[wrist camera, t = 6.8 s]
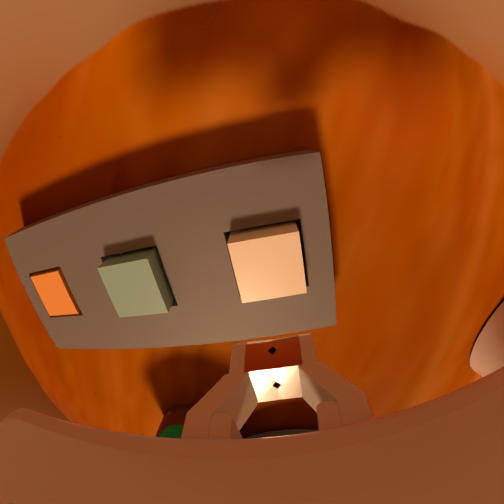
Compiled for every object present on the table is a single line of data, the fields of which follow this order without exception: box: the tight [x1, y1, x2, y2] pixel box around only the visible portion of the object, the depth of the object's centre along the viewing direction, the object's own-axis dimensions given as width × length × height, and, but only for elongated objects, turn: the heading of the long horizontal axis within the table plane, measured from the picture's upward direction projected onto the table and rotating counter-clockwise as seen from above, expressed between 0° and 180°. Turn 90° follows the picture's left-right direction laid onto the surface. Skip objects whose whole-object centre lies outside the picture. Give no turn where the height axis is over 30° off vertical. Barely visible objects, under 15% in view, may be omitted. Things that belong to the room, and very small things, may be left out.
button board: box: [4, 149, 336, 349], centre depth 20 cm, size 26×12×3 cm, turn 101°
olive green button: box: [97, 246, 175, 317], centre depth 18 cm, size 4×4×2 cm
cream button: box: [227, 221, 307, 303], centre depth 17 cm, size 4×4×2 cm
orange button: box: [31, 266, 81, 316], centre depth 20 cm, size 4×4×2 cm
